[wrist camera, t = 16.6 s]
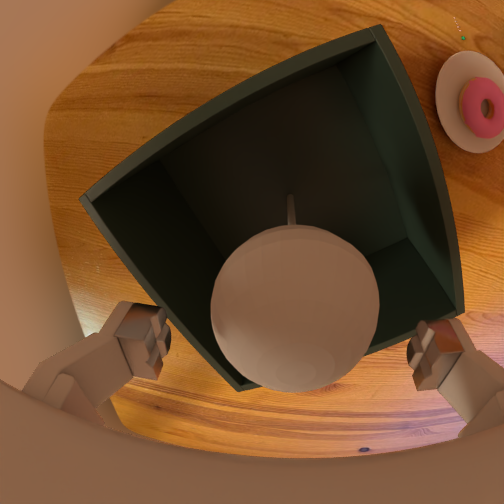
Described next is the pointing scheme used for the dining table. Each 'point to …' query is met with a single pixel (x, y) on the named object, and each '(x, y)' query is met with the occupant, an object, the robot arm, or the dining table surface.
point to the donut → (471, 101)
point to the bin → (291, 189)
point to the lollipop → (295, 307)
